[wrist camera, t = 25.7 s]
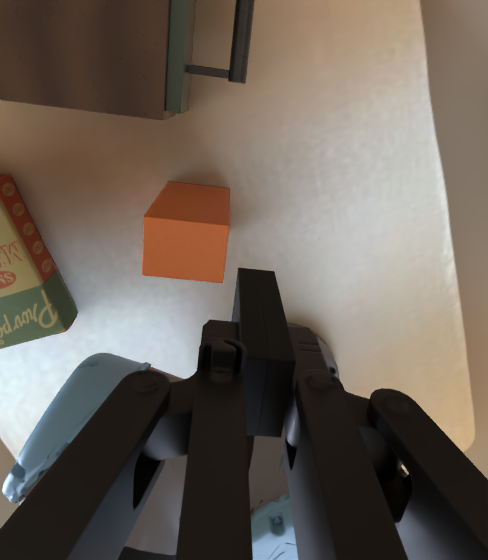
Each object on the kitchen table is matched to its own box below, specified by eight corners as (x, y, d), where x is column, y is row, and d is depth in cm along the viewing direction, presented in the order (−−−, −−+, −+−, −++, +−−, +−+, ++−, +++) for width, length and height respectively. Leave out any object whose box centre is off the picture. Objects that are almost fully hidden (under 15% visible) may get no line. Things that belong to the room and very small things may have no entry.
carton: (11, 171, 42) (-11, 179, 38) (81, 314, 48) (68, 334, 44) (-69, 195, 42) (-99, 205, 38) (10, 333, 48) (-9, 355, 45)
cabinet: (185, -67, 35) (173, -110, 27) (175, 115, 40) (163, 120, 33) (-18, -98, 34) (-88, -152, 26) (-1, 93, 39) (-55, 93, 31)
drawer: (258, -49, 35) (264, -78, 29) (240, 116, 39) (242, 120, 34) (8, -88, 33) (-39, -126, 27) (21, 88, 38) (-17, 88, 32)
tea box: (229, 188, 43) (229, 225, 31) (225, 232, 45) (222, 283, 33) (168, 181, 42) (143, 216, 30) (166, 225, 44) (141, 275, 32)
